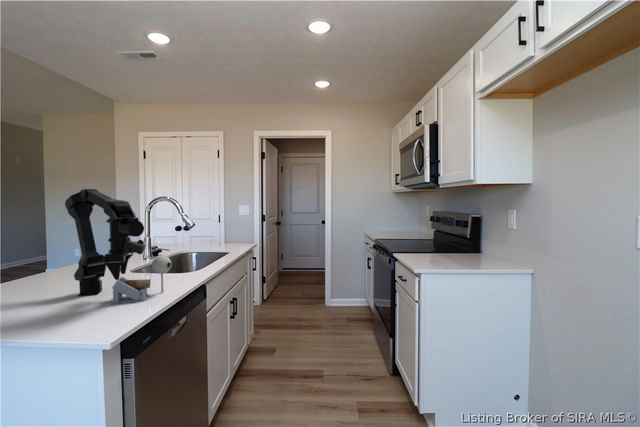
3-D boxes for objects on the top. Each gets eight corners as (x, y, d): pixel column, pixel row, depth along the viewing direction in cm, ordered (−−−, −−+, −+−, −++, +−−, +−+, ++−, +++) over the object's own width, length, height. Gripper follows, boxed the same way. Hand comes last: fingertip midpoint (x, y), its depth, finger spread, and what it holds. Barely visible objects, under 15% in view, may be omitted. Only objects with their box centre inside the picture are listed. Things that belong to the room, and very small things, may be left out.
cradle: (110, 304, 116) (109, 281, 115) (115, 298, 123) (114, 276, 122) (145, 301, 119) (144, 278, 119) (148, 295, 126) (147, 274, 126)
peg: (124, 289, 119) (148, 288, 122) (124, 281, 119) (149, 280, 121) (126, 287, 122) (150, 286, 125) (126, 279, 122) (150, 278, 124)
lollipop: (164, 295, 126) (163, 257, 125) (148, 294, 127) (147, 257, 127) (175, 290, 133) (175, 254, 132) (160, 289, 134) (159, 253, 133)
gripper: (138, 237, 113) (139, 281, 113) (147, 231, 130) (148, 269, 131) (101, 238, 109) (103, 283, 110) (116, 232, 127) (117, 271, 127)
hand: (120, 276), depth 120 cm, fingers open, 9 cm apart
